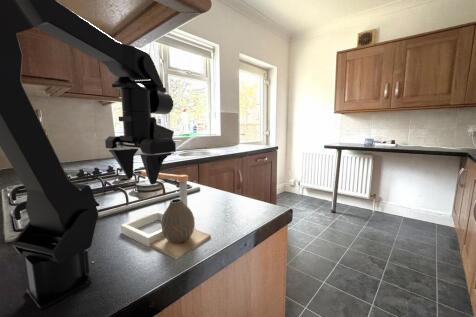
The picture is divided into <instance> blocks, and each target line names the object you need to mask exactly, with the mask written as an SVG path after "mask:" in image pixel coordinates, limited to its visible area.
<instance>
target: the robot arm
mask: <svg viewBox="0 0 476 317" xmlns="http://www.w3.org/2000/svg"><path fill="white" fill-rule="evenodd" d="M30 29H31V30H32V29H37V30H38V31H40V32H42V33H44V34H47V35H48V36H50V37H52V38H54V39H55V40H57V41H60V42H62V43H64V44H66V45H68V46H69V47H71V48H73V49H75V50H78V51H80V52H82V53H84V54H85V55H87V56H89V57H91V58H93V59H95V60H97V61H99V62H101V63H102V64H103V65H105V66H106V68H107V69H108V72H110V73H111V74H112V75H114V76H115V77H117V78H118V79H117V80H115V81H114V82H113V83H111V87H112V88H113V89H116V90H117V89H119V90H120V96H121V97H120V98H121V110H122V112H121V113H122V116H118V122H122V124H123V125H122V127H123V134H122V135H112V136H111V135H109V136H108V137H107V138H106V139H104V143H105V149H108V152H109V153H111V155H112V157H113V158H114V159H115V160H116V162H117V164H118V165H119V167H120V168H121V170H122V172H123V174H125V177H126V178H127V179H133V176H134V157H135V154H136V153H137V152H138V151H139V149H140V150H141V153H142V154H140V159H141V161H142V164H143V168H144V171H146V174H147V179H148V181H149V183H150V185H156V184H157V181H158V179H159V178H158V175H159V173H160V171H161V167H162V164H164V163H163V162H164V161H165V159H167V158H168V157H169V156H172V154H173V153H174V152H175V153H176V152H177V145H176V141H175V140H174V139H173V137H174V133H175V131H174V130H172V129H169V128H167V127H164V126H162V125H159V124H158V123H157V119H156V116H152V114H154V115H168V114H170V113H171V112H172V111H173V109H174V100H173V97H172V96H171V95H170V94H169V93H167V88H166V87H164V84H163V82H162V80H161V77H160V76H161V75H159V72H158V70H157V67H156V65H155V63H154V61H153V58H152V56H151V55H150V54H149V53H148V52H147V51H146V50H143V49H142V48H139V47H137V46H134V45H130V44H126V43H122V42H120V41H117V40H116V39H114V38H113V37H111V36H110V35H109V34H107V33H105V32H104V31H102V30H101V29H100V28H98V27H96V26H95V25H94V24H92V23H90V22H89V21H88V20H86V19H84V18H83V17H81V16H80V15H78V14H77V13H76V12H75V11H73V10H71V9H69V8H68V7H66V6H65V5H64V4H62V3H61V2H59V1H57V0H0V149H1V150H2V153H3V154H4V155H5V157H6V158H7V160H8V162H9V163H10V165H11V167H12V168H13V170H14V171H15V174H16V175H17V176H18V179H19V180H20V182H21V183H22V185H23V187H24V188H25V189H26V193H27V195H26V202H25V203H26V204H25V210H26V211H25V212H26V214H27V218H28V220H29V222H27V224H26V225H25V226H24V227H23V229H22V230H21V231H20V232H19V234H18V235H17V236H16V238H14V240H13V242H12V243H11V246H12V247H13V248H14V250H15V251H16V252H17V253H18V254H20V255H25V257H24V258H25V264H26V269H27V277H28V284H29V286H27V287H26V289H25V290H26V293H27V294H28V295H29V297H30V298H31V299H32V300H33V301H34V303H35V304H36V306H37V307H38V308H39V309H40V310H43V309H45V308H47V307H49V306H51V305H53V304H55V303H57V302H59V301H60V300H62V299H64V298H65V297H68V296H70V295H72V294H73V293H75V292H78V290H81V289H82V288H85V287H86V286H89V285H90V284H91V283H93V278H92V277H90V276H89V274H90V273H91V270H90V269H91V268H90V267H91V266H90V258H89V257H90V256H89V251H88V249H89V248H91V247H92V243H93V239H94V234H95V230H96V225H97V222H98V220H99V210H98V208H97V207H99V206H100V203H98V201H97V200H96V199H95V195H94V192H93V189H92V188H91V186H90V185H89V184H82V183H73V182H71V180H70V179H69V177H68V175H67V174H66V172H65V169H64V167H63V165H62V163H61V161H60V158H59V157H58V154H57V153H56V151H55V148H54V147H53V145H52V143H51V141H50V139H49V137H48V135H47V132H46V131H45V129H44V126H43V125H42V124H43V123H42V122H41V120H40V118H39V116H38V114H37V112H36V110H35V108H34V106H33V104H32V102H31V99H30V97H29V96H28V93H27V91H26V90H25V87H24V85H23V82H22V68H23V59H24V58H23V52H22V49H21V45H20V40H19V37H18V34H19V33H21V32H25V31H27V30H30Z"/></svg>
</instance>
